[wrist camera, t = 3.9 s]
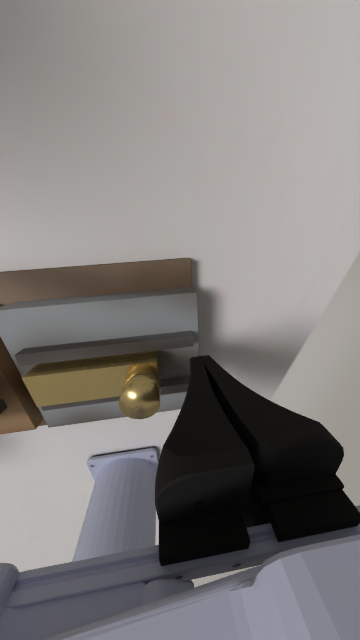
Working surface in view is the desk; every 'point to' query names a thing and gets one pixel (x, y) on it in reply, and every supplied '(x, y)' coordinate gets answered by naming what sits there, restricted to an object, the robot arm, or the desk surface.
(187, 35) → the desk surface
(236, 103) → the desk surface
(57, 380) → the bolt
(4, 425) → the door mockup
